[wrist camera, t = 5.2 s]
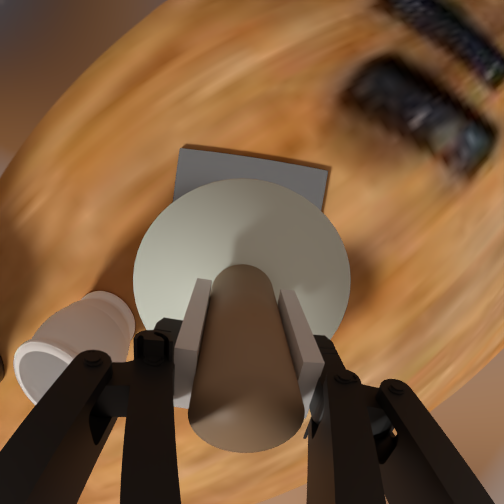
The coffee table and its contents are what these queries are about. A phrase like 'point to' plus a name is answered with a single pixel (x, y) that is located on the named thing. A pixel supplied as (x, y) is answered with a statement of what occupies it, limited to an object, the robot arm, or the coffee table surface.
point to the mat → (246, 173)
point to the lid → (243, 300)
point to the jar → (73, 340)
